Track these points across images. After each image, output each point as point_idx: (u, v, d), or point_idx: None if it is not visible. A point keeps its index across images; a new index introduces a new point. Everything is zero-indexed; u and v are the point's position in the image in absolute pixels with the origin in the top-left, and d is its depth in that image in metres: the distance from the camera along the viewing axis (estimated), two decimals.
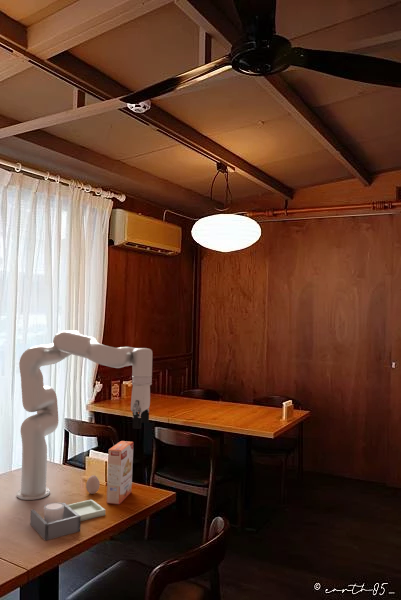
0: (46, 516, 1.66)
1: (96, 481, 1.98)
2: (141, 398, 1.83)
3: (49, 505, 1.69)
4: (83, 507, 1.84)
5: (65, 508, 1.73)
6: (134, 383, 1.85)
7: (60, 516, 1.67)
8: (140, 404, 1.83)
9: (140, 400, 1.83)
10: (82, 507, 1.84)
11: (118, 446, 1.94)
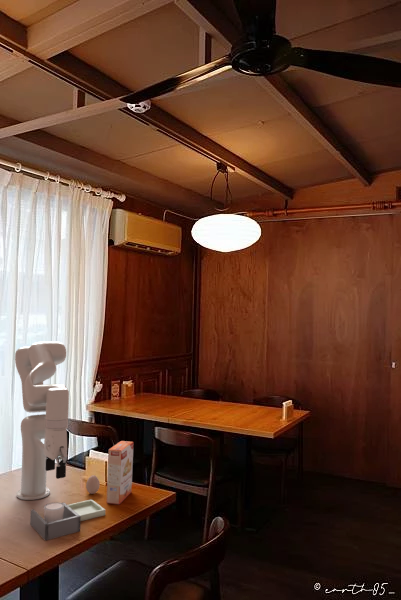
0: (46, 516, 1.66)
1: (96, 481, 1.98)
2: (65, 443, 1.66)
3: (49, 505, 1.69)
4: (83, 507, 1.84)
5: (65, 508, 1.73)
6: (54, 428, 1.66)
7: (60, 516, 1.67)
8: (65, 450, 1.66)
9: (65, 445, 1.66)
10: (82, 507, 1.84)
11: (118, 446, 1.94)
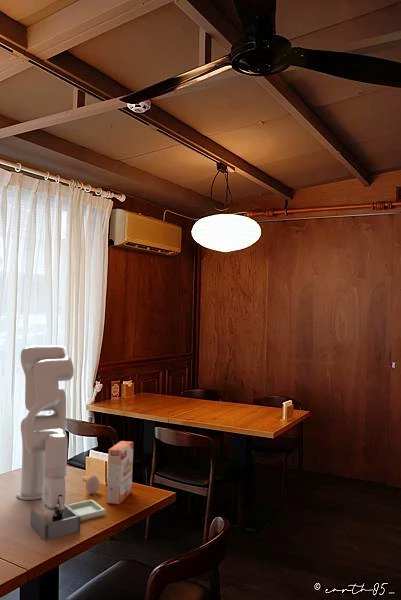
0: (46, 516, 1.66)
1: (96, 481, 1.98)
2: (64, 491, 1.66)
3: None
4: (83, 507, 1.84)
5: (65, 508, 1.73)
6: (53, 476, 1.65)
7: None
8: (63, 498, 1.66)
9: (63, 493, 1.66)
10: (82, 507, 1.84)
11: (118, 446, 1.94)
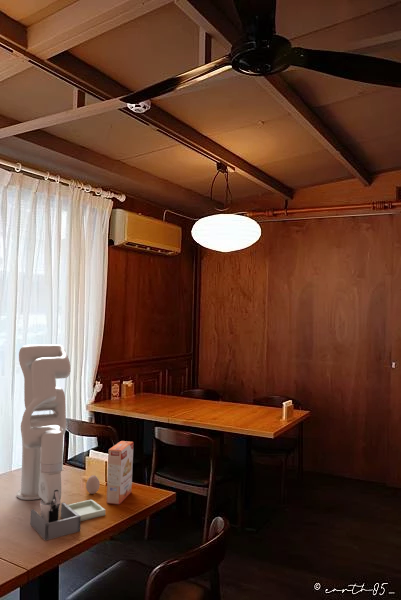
0: (42, 511, 1.69)
1: (96, 481, 1.98)
2: (60, 486, 1.69)
3: None
4: (83, 507, 1.84)
5: (65, 508, 1.73)
6: (49, 472, 1.68)
7: None
8: (59, 493, 1.69)
9: (59, 488, 1.69)
10: (82, 507, 1.84)
11: (118, 446, 1.94)
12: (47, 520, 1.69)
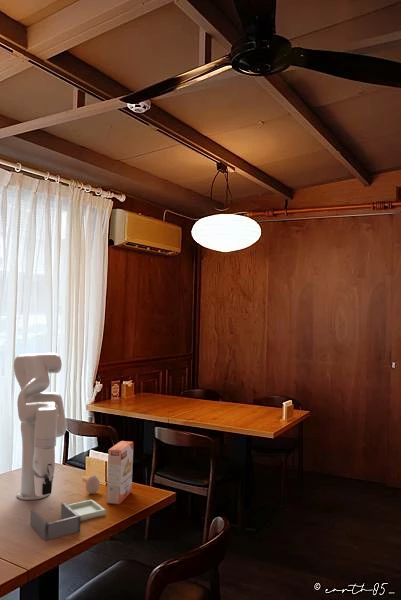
0: (36, 483, 1.75)
1: (96, 481, 1.98)
2: (53, 461, 1.75)
3: None
4: (83, 507, 1.84)
5: (65, 508, 1.73)
6: (43, 446, 1.74)
7: None
8: (52, 467, 1.75)
9: (52, 462, 1.75)
10: (82, 507, 1.84)
11: (118, 446, 1.94)
12: (41, 492, 1.75)
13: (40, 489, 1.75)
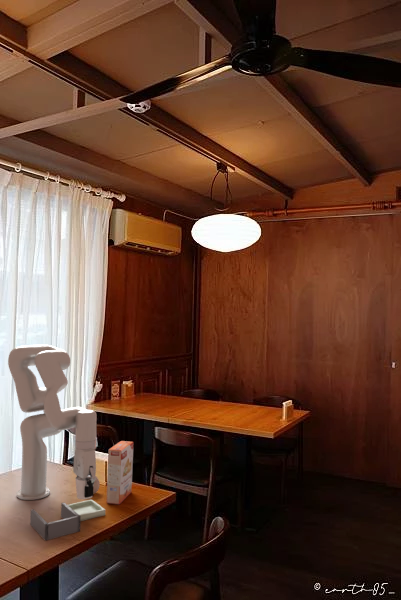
0: (78, 486, 1.77)
1: (96, 481, 1.98)
2: (94, 463, 1.78)
3: None
4: (83, 507, 1.84)
5: (65, 508, 1.73)
6: (84, 449, 1.77)
7: None
8: (94, 469, 1.77)
9: (94, 465, 1.77)
10: (82, 507, 1.84)
11: (118, 446, 1.94)
12: (83, 495, 1.77)
13: (82, 492, 1.77)
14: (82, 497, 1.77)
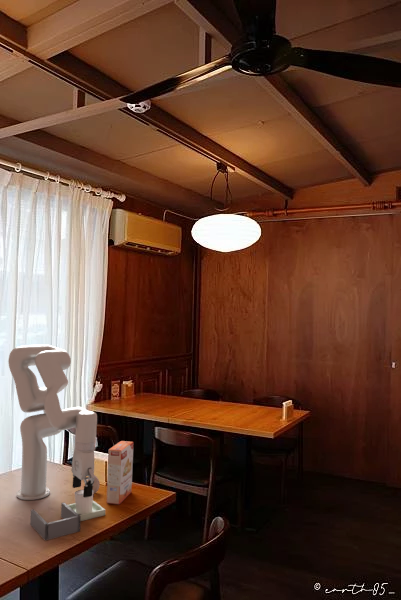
0: (77, 501, 1.77)
1: (96, 481, 1.98)
2: (93, 464, 1.78)
3: (79, 491, 1.81)
4: None
5: (65, 508, 1.73)
6: (83, 450, 1.77)
7: (90, 500, 1.79)
8: None
9: (92, 466, 1.78)
10: None
11: (118, 446, 1.94)
12: (82, 510, 1.77)
13: (81, 506, 1.77)
14: (81, 512, 1.77)
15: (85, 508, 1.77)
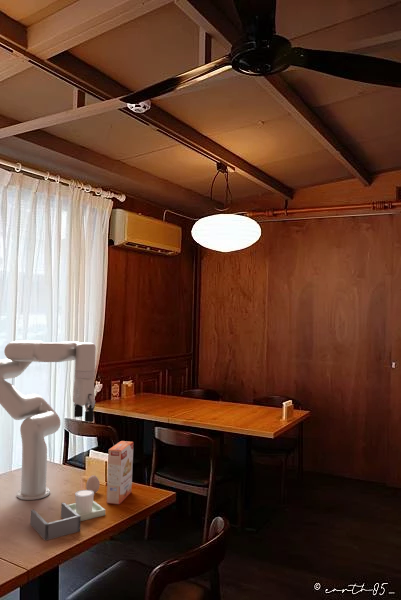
0: (77, 502, 1.77)
1: (96, 481, 1.98)
2: (93, 391, 1.87)
3: (80, 492, 1.80)
4: None
5: (65, 508, 1.73)
6: (83, 378, 1.86)
7: (91, 502, 1.78)
8: (92, 397, 1.87)
9: (92, 393, 1.87)
10: None
11: (118, 446, 1.94)
12: (82, 511, 1.77)
13: (82, 508, 1.77)
14: (81, 513, 1.77)
15: (85, 509, 1.77)
